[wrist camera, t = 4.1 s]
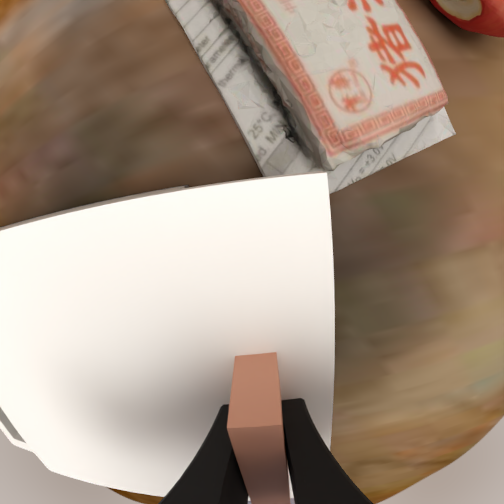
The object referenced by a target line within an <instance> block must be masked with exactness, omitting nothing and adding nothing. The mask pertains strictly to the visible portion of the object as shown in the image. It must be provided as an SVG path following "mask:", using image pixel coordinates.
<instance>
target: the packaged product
mask: <svg viewBox="0 0 504 504" xmlns="http://www.w3.org/2000/svg"><path fill="white" fill-rule="evenodd" d="M165 1H166V3H167V4H168V6H169V8H170V9H171V11H172V12H173V14H174V15H175V16H176V18H177V19H178V21H179V22H180V24H181V25H182V27H183V29H184V31H185V33H186V34H187V36H188V38H189V40H190V42H191V44H192V45H193V47H194V49H195V51H196V53H197V55H198V56H199V58H200V60H201V62H202V64H203V66H204V68H205V69H206V71H207V73H208V74H209V76H210V78H211V79H212V81H213V83H214V84H215V86H216V88H217V89H218V91H219V93H220V94H221V96H222V98H223V100H224V102H225V104H226V106H227V108H228V109H229V111H230V113H231V115H232V117H233V119H234V121H235V123H236V124H237V126H238V128H239V130H240V132H241V134H242V136H243V138H244V140H245V142H246V144H247V146H248V148H249V149H250V151H251V153H252V155H253V157H254V159H255V161H256V163H257V165H258V167H259V169H260V171H261V173H262V175H263V177H269V176H278V175H287V174H297V173H307V172H318V171H323V172H327V178H328V189H329V194H331V193H333V192H336V191H338V190H340V189H342V188H344V187H346V186H348V185H350V184H352V183H354V182H356V181H358V180H360V179H363V178H365V177H367V176H369V175H371V174H373V173H375V172H377V171H379V170H381V169H384V168H386V167H388V166H390V165H392V164H394V163H396V162H398V161H400V160H402V159H404V158H406V157H408V156H410V155H412V154H414V153H417V152H419V151H421V150H423V149H425V148H427V147H429V146H431V145H433V144H435V143H437V142H440V141H441V140H443V139H446V138H448V137H450V136H452V135H454V134H456V133H455V131H454V129H453V127H452V125H451V123H450V120H449V118H448V115H447V113H446V110H445V108H444V106H445V105H447V104H449V103H448V97H447V94H446V92H445V90H444V88H443V86H442V83H441V81H440V78H439V76H438V74H437V71H436V69H435V67H434V65H433V63H432V61H431V59H430V57H429V55H428V53H427V51H426V49H425V47H424V45H423V43H422V42H421V40H420V38H419V37H418V35H417V33H416V32H415V30H414V28H413V26H412V25H411V23H410V21H409V19H408V17H407V16H406V14H405V13H404V11H403V10H402V8H401V7H400V5H399V4H398V2H397V1H396V0H165Z"/></svg>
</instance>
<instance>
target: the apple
mask: <svg viewBox="0 0 504 504" xmlns="http://www.w3.org/2000/svg"><path fill="white" fill-rule="evenodd" d="M430 1H431V3H432V4H433V5H434V6H435V7H436V8H437V9H438V10H439V11H440V12H441V13H442V14H443V15H445V16H446V17H447V18H448V19H450V20H451V21H452V22H453V23H454V24H456V25H457V26H458V27H460V28H462V29H464V30H467V31H471V32H477V33H481V34H485V35H489V36H495V37H504V0H430Z"/></svg>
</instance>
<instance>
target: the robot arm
mask: <svg viewBox="0 0 504 504" xmlns="http://www.w3.org/2000/svg"><path fill="white" fill-rule="evenodd" d="M281 403H282V419H283V428H284V437H285V445H286V454H287V463H288V469H289V474H290V480H291V485H292V491H293V496H294V498H290V503H291V504H373V503H372V502H371V501H370V500H369V499H368V498H367V497H366V496H365V495H364V494H363V493H362V492H361V491H360V489H359V488H358V487H357V486H356V485H355V484H354V483H353V481H352V480H351V479H350V478H349V477H348V475H347V474H346V473H345V472H344V470H343V469H342V468H341V466H340V465H339V463H338V462H337V461H336V459H335V458H334V456H333V455H332V453H331V452H330V450H329V449H328V447H327V446H326V444H325V442H324V441H323V439H322V438H321V436H320V434H319V432H318V430H317V429H316V427H315V425H314V423H313V421H312V419H311V416H310V414H309V412H308V409H307V406H306V403H305V400H304V399H302V398H296V399H287V400H281ZM228 413H229V404H223V405H222V406H221V407H220V409H219V412H218V414H217V416H216V419H215V421H214V423H213V425H212V427H211V429H210V431H209V433H208V434H207V436H206V438H205V440H204V442H203V443H202V445H201V447H200V448H199V450H198V452H197V454H196V455H195V457H194V458H193V460H192V461H191V463H190V464H189V466H188V467H187V469H186V470H185V471H184V473H183V474H182V476H181V477H180V479H179V480H178V481H177V482H176V484H175V485H174V486H173V487H172V489H171V490H170V491H169V492H168V493H167V495H166V496H165V497H164V498H163V499H162V500H161V501H160V502H159V503H158V504H252V503H251V501H248V496H249V494H248V492H247V489H246V486H245V483H244V480H243V477H242V474H241V471H240V468H239V465H238V462H237V459H236V456H235V453H234V450H233V447H232V443H231V440H230V437H229V434H228V430H227V422H228Z"/></svg>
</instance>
